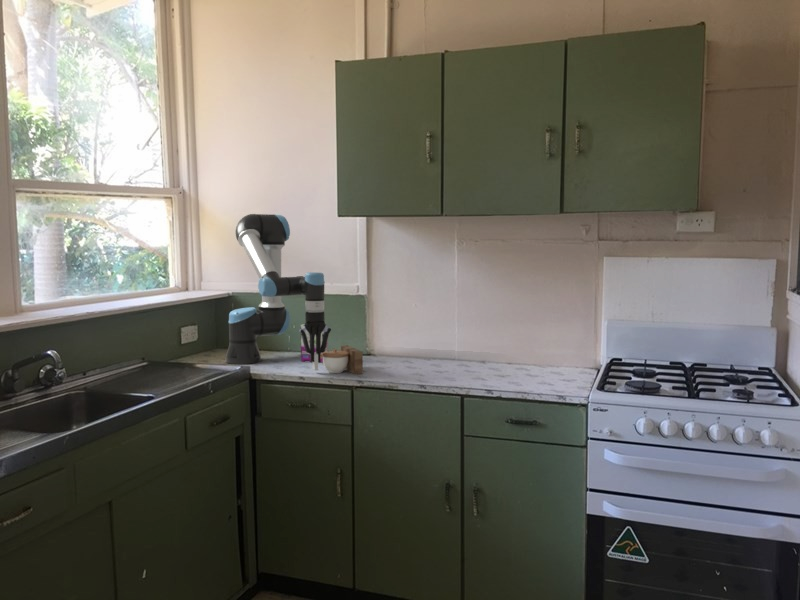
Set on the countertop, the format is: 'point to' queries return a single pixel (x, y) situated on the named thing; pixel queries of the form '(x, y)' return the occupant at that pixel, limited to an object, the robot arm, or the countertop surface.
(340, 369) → the lidded jar
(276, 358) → the countertop surface
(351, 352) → the board
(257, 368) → the countertop surface
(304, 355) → the candy bar box
